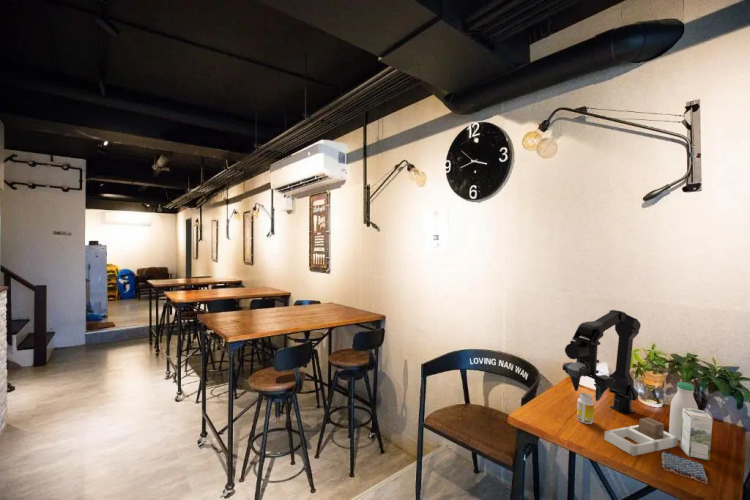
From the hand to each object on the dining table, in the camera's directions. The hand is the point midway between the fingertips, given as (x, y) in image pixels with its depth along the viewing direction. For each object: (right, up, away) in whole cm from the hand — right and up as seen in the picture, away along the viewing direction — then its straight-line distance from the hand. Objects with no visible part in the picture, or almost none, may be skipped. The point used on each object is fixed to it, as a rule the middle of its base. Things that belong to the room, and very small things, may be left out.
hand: (586, 395), depth 137 cm
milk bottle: (+29, -12, -10) cm, 33 cm away
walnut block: (+15, -11, -12) cm, 23 cm away
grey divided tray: (+11, -11, -14) cm, 21 cm away
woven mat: (+13, -12, -28) cm, 33 cm away
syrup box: (+24, -12, -20) cm, 33 cm away
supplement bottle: (-1, -10, 0) cm, 10 cm away
